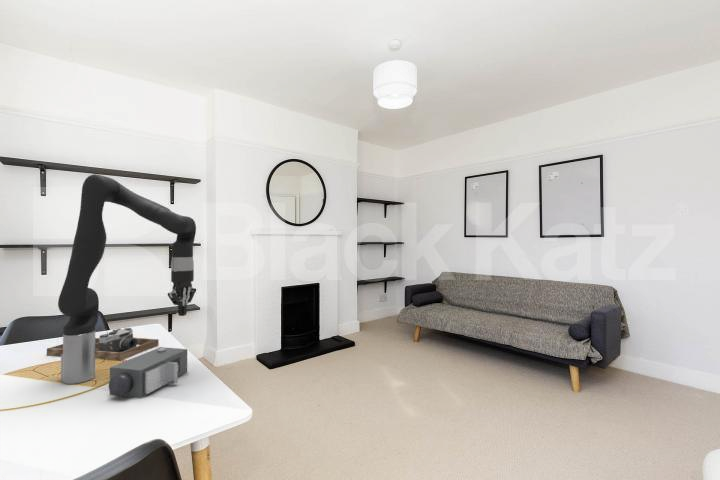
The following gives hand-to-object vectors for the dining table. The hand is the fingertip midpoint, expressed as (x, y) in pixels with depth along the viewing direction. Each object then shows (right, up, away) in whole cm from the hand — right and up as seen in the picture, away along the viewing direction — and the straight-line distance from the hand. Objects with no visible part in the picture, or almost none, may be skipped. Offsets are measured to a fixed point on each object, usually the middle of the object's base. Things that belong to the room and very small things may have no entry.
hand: (182, 315), depth 130 cm
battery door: (-1, -22, -12) cm, 25 cm away
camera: (-42, -23, +28) cm, 56 cm away
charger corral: (-62, -23, +30) cm, 73 cm away
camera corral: (-40, -23, +29) cm, 54 cm away
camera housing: (-9, -23, -7) cm, 25 cm away
